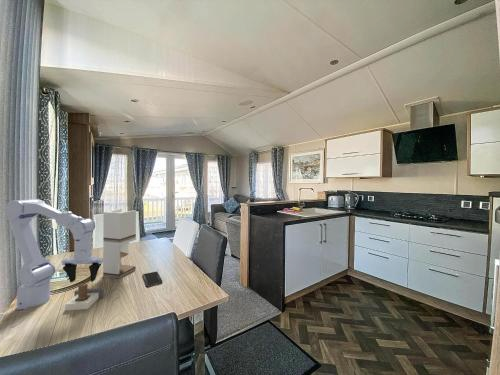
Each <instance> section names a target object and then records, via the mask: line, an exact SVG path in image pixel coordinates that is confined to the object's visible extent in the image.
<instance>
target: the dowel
mask: <svg viewBox="0 0 500 375" xmlns="http://www.w3.org/2000/svg"><path fill="white" fill-rule="evenodd" d="M77 289H78V301H85V300H87V289H89V288H88V284H87V283H83V284H79V285H78V288H77Z"/></svg>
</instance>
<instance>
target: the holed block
mask: <svg viewBox="0 0 500 375" xmlns="http://www.w3.org/2000/svg"><path fill="white" fill-rule="evenodd" d="M98 299H100V298H99V293H87V300H85V301H78V294H77V295H76V296H75V297H74V296H73V297H72V298H71V299H70V300H68V301H67V302H66V303H65V304H64V306H65V307H64V309H65V310H64V311H78V310H79V311H81V310H82V311H83V310H89V309H90V308H91V306H92V305H94V304H95V303H96V302H97V300H98Z"/></svg>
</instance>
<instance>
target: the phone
mask: <svg viewBox="0 0 500 375" xmlns="http://www.w3.org/2000/svg"><path fill="white" fill-rule="evenodd" d="M142 279H143V282H144V285H145V287H146V288H149V287H153V286H158V285H162V284H163V279H162V277H161V275H160V274H159V272H158V271H152V272H148V273H142Z"/></svg>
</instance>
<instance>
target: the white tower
mask: <svg viewBox="0 0 500 375" xmlns="http://www.w3.org/2000/svg"><path fill="white" fill-rule="evenodd" d="M102 217H103V218H102V219H103V222H102V224H103V226H102V227H103V232H102V233H103V234H102V235H103V236H102V237H103V240H102V243H103V245H102V248H103V251H102V254H103V256H102V258H103V263H102V269H103V270H102V271H103V272H102V274H103V275H102V276H103V277H106V278H115V279H122V278H123V277H125V276H127V275H129V274H131V273H132V272H134V271H136V270H137V269H136V265H128V264H122V259H123V258H124V257H127V256H129V255H130V249H129V248H130V246H129V245H130V242H134V241H137V210H134V209H133V210H129V211H128V210H127V211H123V210H122V209H115V210H108V211H103V216H102Z"/></svg>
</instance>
